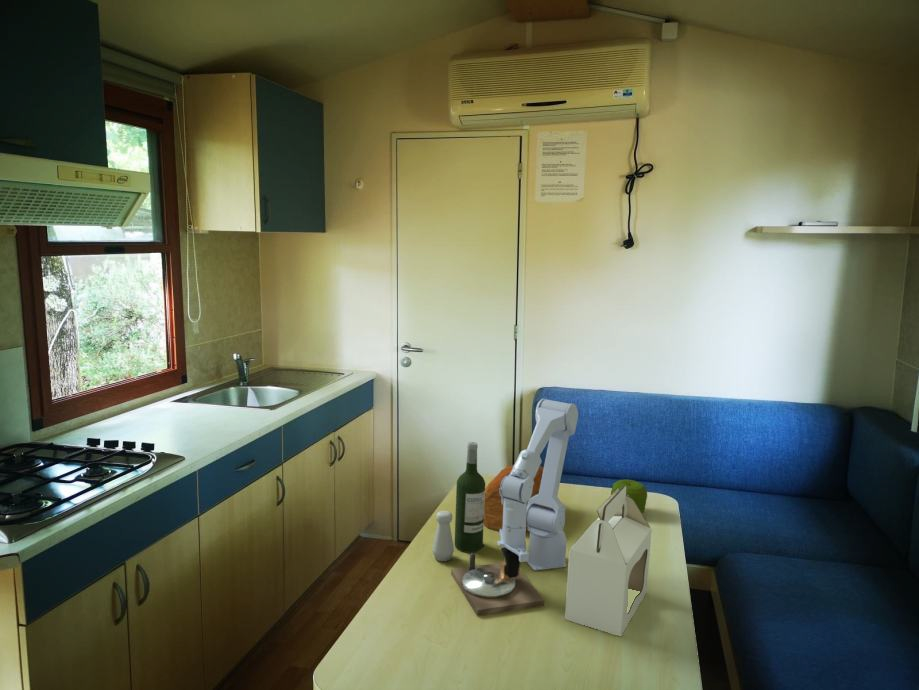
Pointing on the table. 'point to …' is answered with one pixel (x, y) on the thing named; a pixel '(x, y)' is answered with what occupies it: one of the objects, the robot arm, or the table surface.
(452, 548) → the salt shaker
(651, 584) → the table surface
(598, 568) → the gable box
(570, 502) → the table surface
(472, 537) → the wine bottle
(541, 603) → the walnut board
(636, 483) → the apple
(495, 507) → the bread
